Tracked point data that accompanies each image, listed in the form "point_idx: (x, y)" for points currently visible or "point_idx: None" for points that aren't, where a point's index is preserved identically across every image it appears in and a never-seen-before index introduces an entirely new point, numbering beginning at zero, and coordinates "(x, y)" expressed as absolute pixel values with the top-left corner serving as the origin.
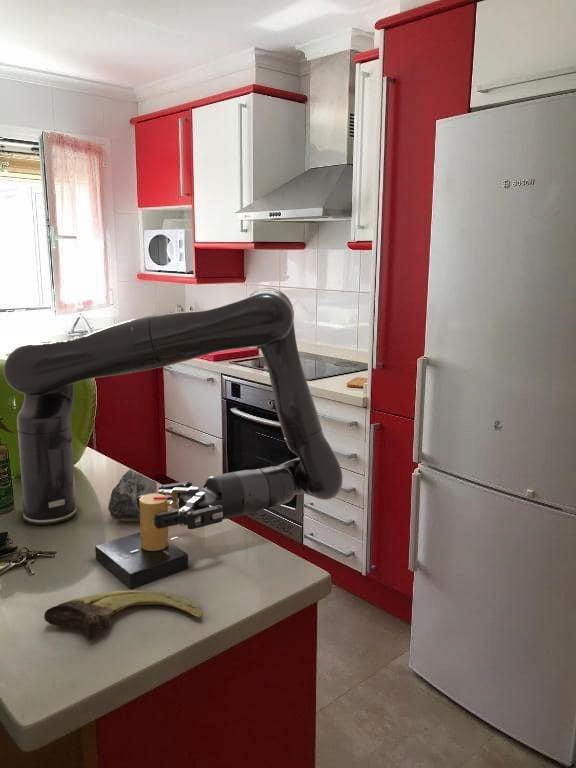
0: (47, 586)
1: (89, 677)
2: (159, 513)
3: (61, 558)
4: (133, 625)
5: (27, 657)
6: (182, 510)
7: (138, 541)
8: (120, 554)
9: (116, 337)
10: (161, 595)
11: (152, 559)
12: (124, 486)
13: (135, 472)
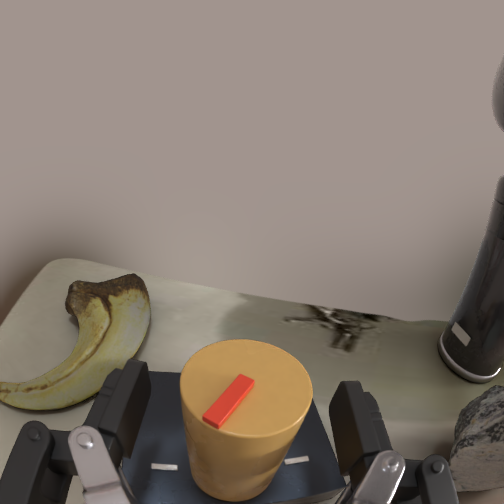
0: (239, 322)
1: (44, 289)
2: (138, 371)
3: (323, 352)
4: (60, 345)
5: (113, 276)
6: (81, 433)
7: None
8: None
9: None
10: (55, 381)
11: (158, 428)
12: (501, 398)
13: None
